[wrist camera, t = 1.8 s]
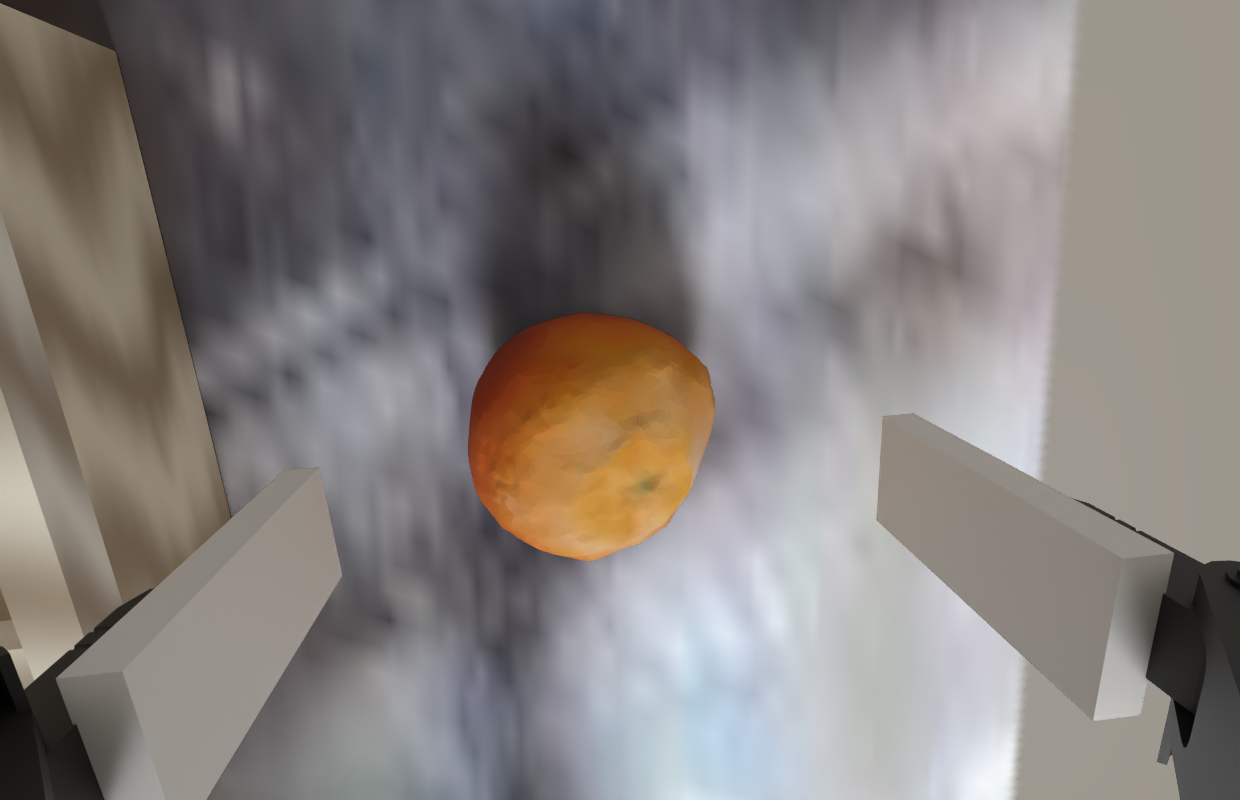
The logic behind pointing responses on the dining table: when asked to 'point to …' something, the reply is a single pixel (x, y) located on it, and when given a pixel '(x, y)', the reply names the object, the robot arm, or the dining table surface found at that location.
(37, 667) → the square tray
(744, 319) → the dining table surface
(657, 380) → the fruit
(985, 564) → the robot arm
